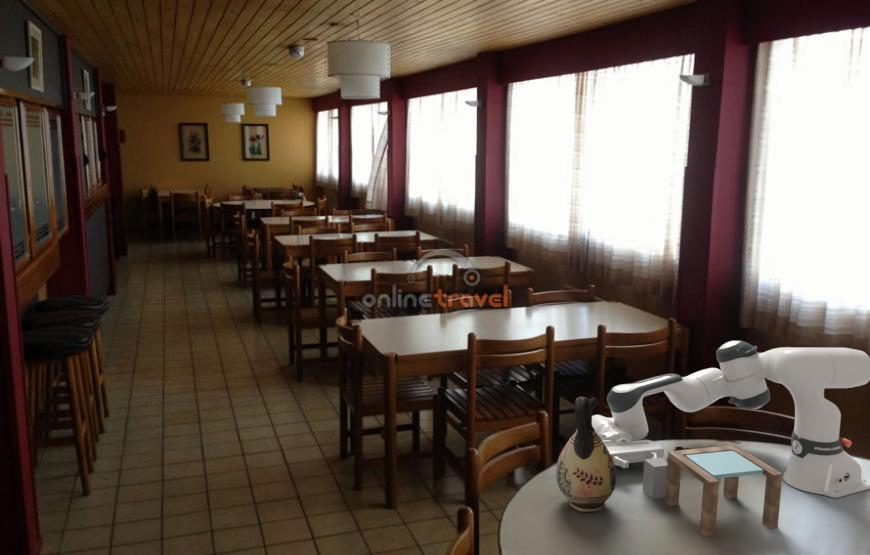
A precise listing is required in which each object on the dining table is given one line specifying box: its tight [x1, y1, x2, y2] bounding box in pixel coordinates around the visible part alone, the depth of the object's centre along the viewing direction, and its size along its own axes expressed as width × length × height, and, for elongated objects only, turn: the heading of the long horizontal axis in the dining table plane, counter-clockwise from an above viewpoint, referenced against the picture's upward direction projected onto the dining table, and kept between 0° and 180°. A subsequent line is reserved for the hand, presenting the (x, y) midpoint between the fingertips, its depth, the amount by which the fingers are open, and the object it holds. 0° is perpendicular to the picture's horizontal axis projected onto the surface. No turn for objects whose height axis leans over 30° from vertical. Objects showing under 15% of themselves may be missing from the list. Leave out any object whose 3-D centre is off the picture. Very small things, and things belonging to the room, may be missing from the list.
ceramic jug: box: [555, 396, 617, 512], centre depth 189 cm, size 17×15×30 cm
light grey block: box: [642, 458, 668, 499], centre depth 198 cm, size 5×5×9 cm
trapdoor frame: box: [664, 444, 784, 537], centre depth 186 cm, size 20×18×14 cm
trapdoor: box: [685, 451, 763, 480], centre depth 185 cm, size 14×12×1 cm
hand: (641, 464), depth 204 cm, fingers open, 8 cm apart
